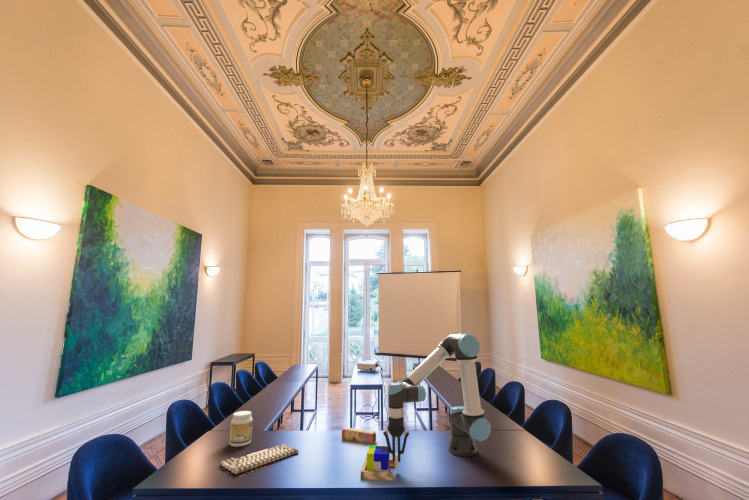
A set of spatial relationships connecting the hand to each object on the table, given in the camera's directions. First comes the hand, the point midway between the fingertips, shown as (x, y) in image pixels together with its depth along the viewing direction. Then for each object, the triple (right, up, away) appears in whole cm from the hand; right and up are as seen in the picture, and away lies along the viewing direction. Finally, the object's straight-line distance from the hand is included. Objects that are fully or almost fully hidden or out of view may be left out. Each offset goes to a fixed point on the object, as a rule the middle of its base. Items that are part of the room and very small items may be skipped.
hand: (396, 468), depth 161 cm
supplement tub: (-91, -10, +38) cm, 99 cm away
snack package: (-20, -11, +42) cm, 48 cm away
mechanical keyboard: (-70, -6, +15) cm, 72 cm away
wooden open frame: (-8, -2, +1) cm, 8 cm away
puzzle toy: (-9, -2, 0) cm, 9 cm away
